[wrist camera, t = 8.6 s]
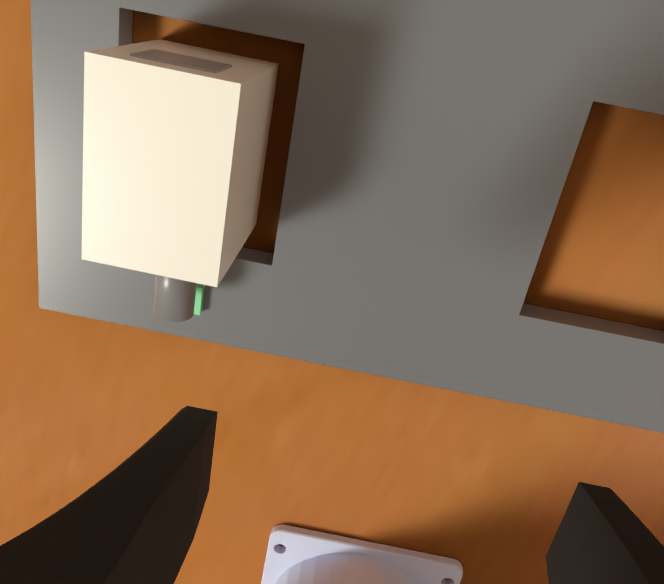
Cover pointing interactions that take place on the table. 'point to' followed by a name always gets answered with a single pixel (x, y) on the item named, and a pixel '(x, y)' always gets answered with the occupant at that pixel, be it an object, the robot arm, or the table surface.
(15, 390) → the table surface
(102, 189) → the plug
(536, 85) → the jack panel
